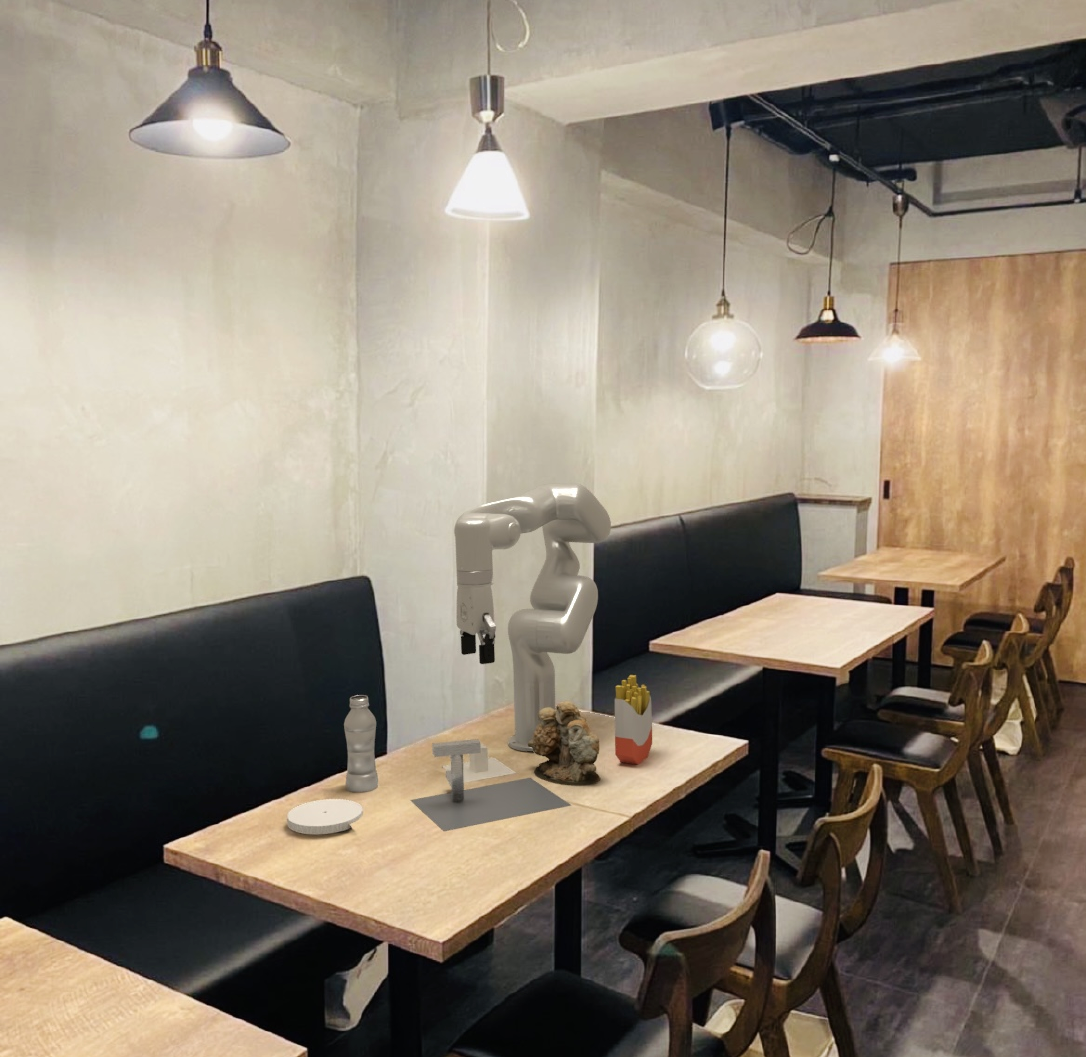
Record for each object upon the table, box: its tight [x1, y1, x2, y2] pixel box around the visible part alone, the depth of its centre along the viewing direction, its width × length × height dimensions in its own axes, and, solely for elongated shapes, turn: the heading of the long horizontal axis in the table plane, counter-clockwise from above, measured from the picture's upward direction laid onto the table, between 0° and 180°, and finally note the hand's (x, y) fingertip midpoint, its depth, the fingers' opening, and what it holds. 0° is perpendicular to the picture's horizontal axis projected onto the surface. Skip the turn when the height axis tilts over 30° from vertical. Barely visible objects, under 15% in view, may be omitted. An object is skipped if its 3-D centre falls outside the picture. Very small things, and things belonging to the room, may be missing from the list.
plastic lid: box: [286, 798, 364, 835], centre depth 199 cm, size 14×14×2 cm
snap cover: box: [441, 743, 517, 784], centre depth 223 cm, size 12×12×7 cm
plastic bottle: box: [343, 694, 379, 794], centre depth 213 cm, size 6×7×20 cm
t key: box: [431, 738, 482, 801], centre depth 207 cm, size 8×9×11 cm
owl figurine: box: [528, 700, 601, 787], centre depth 218 cm, size 18×12×17 cm, turn 52°
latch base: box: [410, 777, 572, 832], centre depth 204 cm, size 26×18×2 cm
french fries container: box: [614, 674, 653, 765], centre depth 231 cm, size 5×11×18 cm, turn 152°
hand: (477, 658), depth 221 cm, fingers open, 9 cm apart
